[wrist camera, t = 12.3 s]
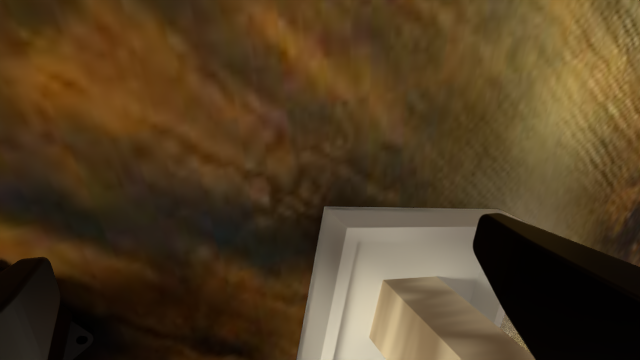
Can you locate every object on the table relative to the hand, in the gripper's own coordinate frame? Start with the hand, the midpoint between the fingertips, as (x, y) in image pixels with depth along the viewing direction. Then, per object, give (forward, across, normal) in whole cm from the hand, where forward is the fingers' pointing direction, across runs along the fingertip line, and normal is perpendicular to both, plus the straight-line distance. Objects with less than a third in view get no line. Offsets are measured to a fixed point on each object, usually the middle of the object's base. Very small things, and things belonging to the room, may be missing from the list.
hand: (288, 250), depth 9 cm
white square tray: (+13, -10, +15) cm, 22 cm away
